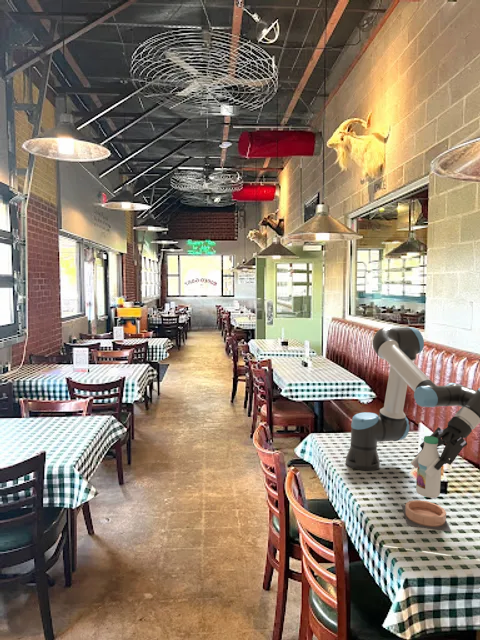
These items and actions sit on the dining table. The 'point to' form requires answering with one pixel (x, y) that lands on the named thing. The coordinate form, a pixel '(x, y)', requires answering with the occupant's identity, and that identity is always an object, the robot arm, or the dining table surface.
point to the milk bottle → (426, 458)
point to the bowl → (425, 513)
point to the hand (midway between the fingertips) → (420, 470)
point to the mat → (413, 524)
